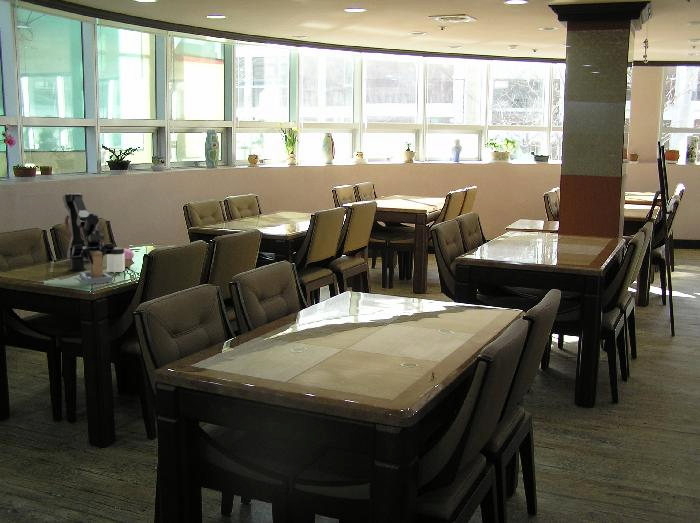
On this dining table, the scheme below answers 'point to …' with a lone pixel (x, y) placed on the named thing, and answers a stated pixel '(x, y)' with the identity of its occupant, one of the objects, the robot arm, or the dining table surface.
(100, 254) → the tan tall block
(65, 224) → the ceramic pitcher
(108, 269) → the jar
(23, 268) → the dining table surface
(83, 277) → the grey shallow tray
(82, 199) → the robot arm
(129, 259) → the cupcake
